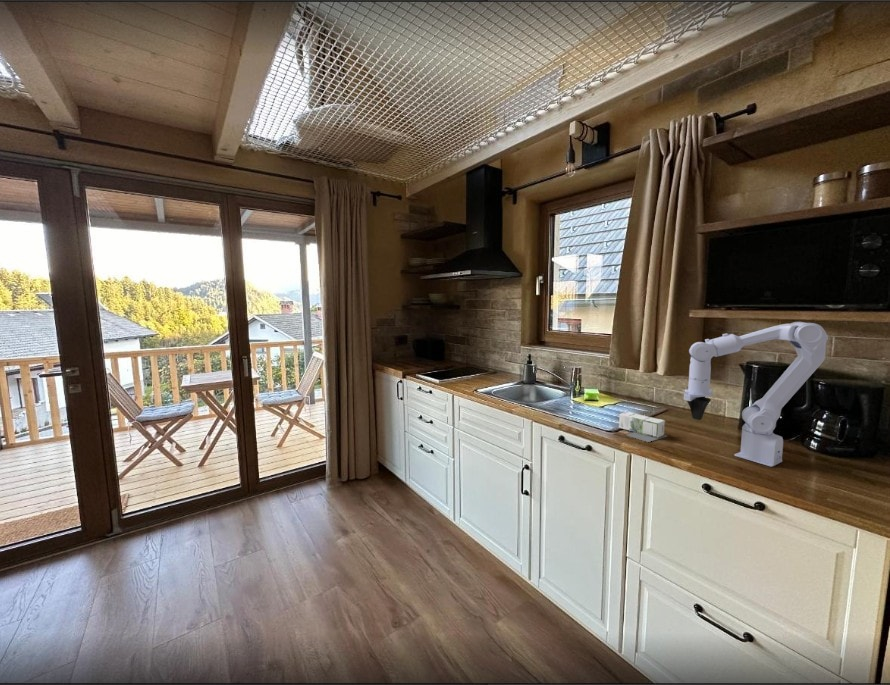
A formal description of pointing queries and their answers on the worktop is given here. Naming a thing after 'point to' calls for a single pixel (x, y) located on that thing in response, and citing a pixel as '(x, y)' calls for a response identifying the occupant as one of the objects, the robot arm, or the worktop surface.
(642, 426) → the syrup box
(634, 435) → the mat
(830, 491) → the worktop surface
